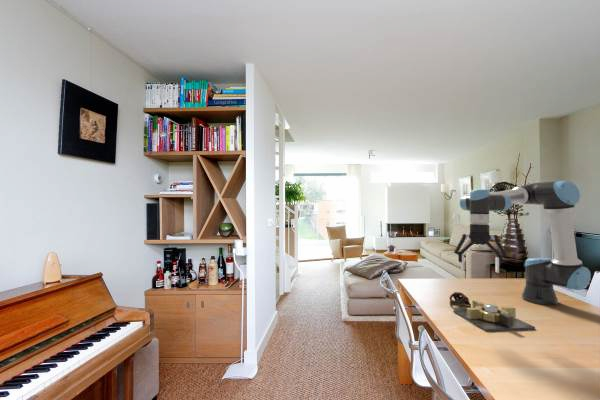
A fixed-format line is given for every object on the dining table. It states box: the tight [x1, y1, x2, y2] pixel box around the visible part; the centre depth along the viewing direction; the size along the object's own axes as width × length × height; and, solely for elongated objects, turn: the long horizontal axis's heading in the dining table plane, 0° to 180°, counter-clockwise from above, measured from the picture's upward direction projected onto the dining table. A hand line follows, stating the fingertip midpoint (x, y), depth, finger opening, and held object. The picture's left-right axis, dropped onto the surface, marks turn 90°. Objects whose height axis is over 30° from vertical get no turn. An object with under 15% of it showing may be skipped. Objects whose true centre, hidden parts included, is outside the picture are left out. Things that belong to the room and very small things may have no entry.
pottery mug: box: [449, 291, 472, 308], centre depth 150 cm, size 12×10×8 cm
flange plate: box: [453, 303, 536, 332], centre depth 132 cm, size 22×22×6 cm
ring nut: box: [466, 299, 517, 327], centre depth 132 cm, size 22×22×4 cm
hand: (479, 271), depth 130 cm, fingers open, 13 cm apart
